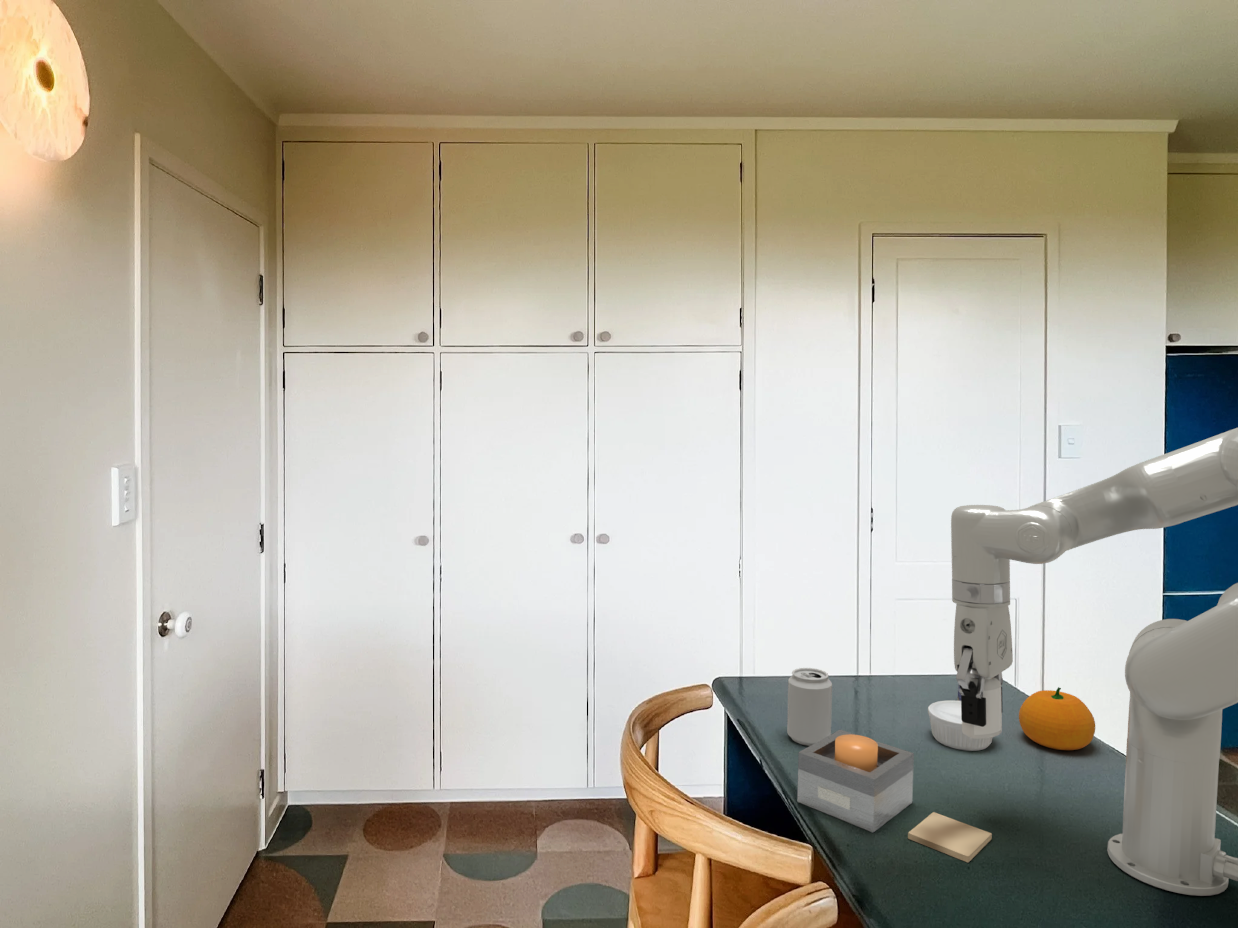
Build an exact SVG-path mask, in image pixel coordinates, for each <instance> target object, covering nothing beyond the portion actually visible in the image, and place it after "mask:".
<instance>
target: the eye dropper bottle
mask: <svg viewBox="0 0 1238 928" xmlns="http://www.w3.org/2000/svg"><path fill="white" fill-rule="evenodd" d="M972 674H977V675H979V673H978V671H977V670H972ZM970 679H971V681H973V682H974V683H975V685H976V686H977V682H978V679H974V678H970ZM1001 687H1002V686H1001V683H1000V681H999V680H998V679H996V678H994V677H993V678H991V679H986V678H985V683H984V692H983V697H984V698H986V725H985V726H984V727H981V726H977V725H973V724H969V723H964V722H963V721H962V732H963V734H965V735H967V736H969V737H971V738H974V739H985V738H992V737H993V738H995V737H997V736H999V735H1001V734H1002V730H1003V728H1002V727H1003V722H1002V721H1003V719H1002V718H1003V717H1002V715H1003V712H1002V711H1003V704H1002V705H1001Z"/></svg>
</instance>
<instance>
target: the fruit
mask: <svg viewBox="0 0 1238 928" xmlns="http://www.w3.org/2000/svg"><path fill="white" fill-rule="evenodd" d="M1061 689H1062V688H1061V687H1060V686H1058V687H1057V689H1056V690H1053V689H1049V690H1048V689H1047V690H1046V689H1045V690H1038V691H1036V692H1034V693H1032V694H1031V695H1029V696H1028V697H1026V699H1025V700H1024V701H1023V702H1022V704H1021V706H1020V708H1019V711H1018V721H1019V725H1020V727H1021V730H1022V731H1023V733H1024V735H1025V736H1026V737H1028V738H1029V739H1030V740H1031V741H1032V742H1035V743H1036V744H1039V745H1041V746H1043V747H1046V748H1049V749H1053V750H1060V751H1074V750H1075V751H1076V750H1081V749H1083V748H1085V747H1086V746H1088V745H1090V744H1091V742H1092V741H1093V738H1094V736H1095V733H1096V721H1095V717H1094V716H1093V714H1092V711H1091V710H1090V709H1089V708H1088V706H1087V705H1086V704H1085V702H1084V701H1082V700H1081V699H1080V698H1079V697H1077V696H1075V695H1073V694H1071V693H1068V692H1067V693H1066V692H1063V691H1061Z"/></svg>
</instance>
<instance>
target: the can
mask: <svg viewBox="0 0 1238 928" xmlns="http://www.w3.org/2000/svg"><path fill="white" fill-rule="evenodd" d="M791 674H792V675H791V676H790V677H789V678H788V680H787V681H788V682H787V684H788V685H787V723H786V724H787V727H786V728H787V729H786V730H787V731H786V732H787V735H788V736H789V738H791V739H792V741H794V742H795V743H796V744H800V745H803V746H807V747H809V746H811V745H813V744H815V743H816V742H818V741H820V740H822V739H824V738H826V737H827V736H829V735H831V734H832V709H833V708H832V705H833V704H832V703H833V683H832V681H831V680H830V679H829V677H830V676H829V674H828V673H827V672H826V671H824V670H822V669H819V668H813V667H799V668H796V669H793V670H792V672H791Z"/></svg>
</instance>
